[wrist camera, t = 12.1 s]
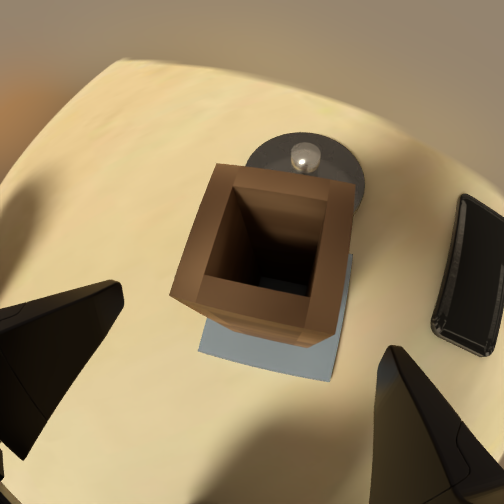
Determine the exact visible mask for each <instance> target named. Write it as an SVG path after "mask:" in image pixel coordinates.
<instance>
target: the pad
mask: <svg viewBox="0 0 504 504" xmlns="http://www.w3.org/2000/svg"><path fill="white" fill-rule="evenodd" d="M352 258H353V254H349V255H348V262H347V269H346V276H345V283H344V289H343V295H342V301H341V307H340V312H339V317H338V323H337V328H336V333H335V335H333V336H331V337H329V338H327V339H325V340H323V341H321V342H319V343H317V344H315V345H313V346H311V347H309V348H304V347H299V346H294V345H290V344H285V343H280V342H276V341H271V340H267V339H263V338H258V337H254V336H250V335H246V334H242V333H238V332H234V331H232V330H230V329H228V328H226V327H224V326H222V325H220V324H218V323H217V322H215V321H213V320H211V319H209V318H207V320H206V323H205V327H204V330H203V334H202V338H201V341H200V345H199V349H198V351H199V352H202V353H205V354H208V355H212V356H215V357H219V358H222V359H226V360H230V361H233V362H237V363H241V364H245V365H249V366H253V367H257V368H261V369H265V370H270V371H274V372H279V373H283V374H288V375H293V376H298V377H303V378H308V379H314V380H320V381H326V382H330V378H331V374H332V370H333V366H334V361H335V357H336V352H337V348H338V343H339V338H340V333H341V328H342V322H343V317H344V311H345V305H346V299H347V293H348V287H349V280H350V273H351V266H352ZM258 287H262V288H266V289H271V290H276V291H281V292H285V293H290V294H295V295H300V296H305V294H306V289H307V286H306V285H301V284H296V283H291V282H286V281H282V280H277V279H272V278H267V277H262V276H261V278H260V282H259V286H258Z"/></svg>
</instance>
